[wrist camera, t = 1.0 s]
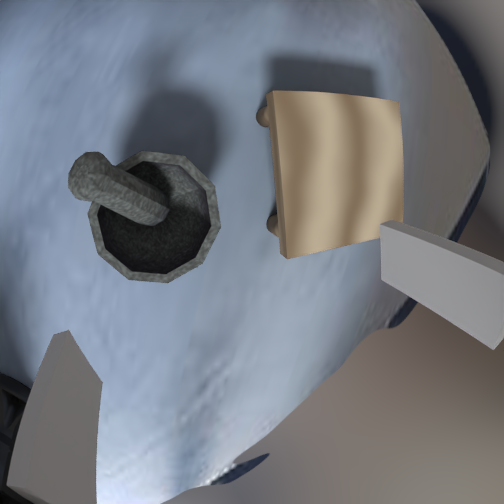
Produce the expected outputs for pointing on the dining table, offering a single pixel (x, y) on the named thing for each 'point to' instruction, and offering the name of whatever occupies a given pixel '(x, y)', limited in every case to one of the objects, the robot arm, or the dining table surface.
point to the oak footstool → (333, 168)
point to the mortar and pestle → (148, 213)
